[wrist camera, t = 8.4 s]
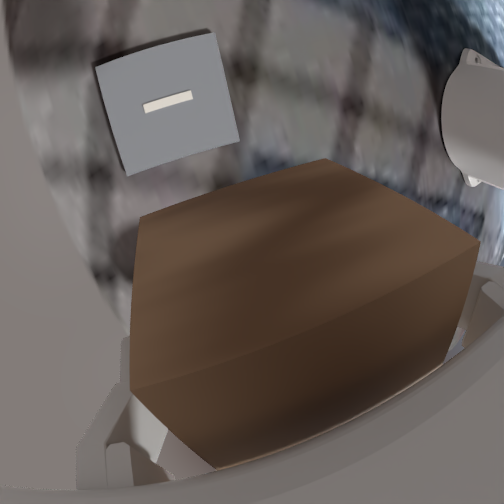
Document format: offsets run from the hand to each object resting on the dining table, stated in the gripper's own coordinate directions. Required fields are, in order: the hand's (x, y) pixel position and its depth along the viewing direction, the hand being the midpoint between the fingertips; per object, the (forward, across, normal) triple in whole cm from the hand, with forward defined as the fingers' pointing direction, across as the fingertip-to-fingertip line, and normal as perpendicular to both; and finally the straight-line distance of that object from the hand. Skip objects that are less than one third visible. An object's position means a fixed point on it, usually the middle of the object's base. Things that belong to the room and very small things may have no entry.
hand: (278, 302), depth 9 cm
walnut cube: (+2, 0, 0) cm, 2 cm away
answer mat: (+17, +1, -6) cm, 18 cm away
